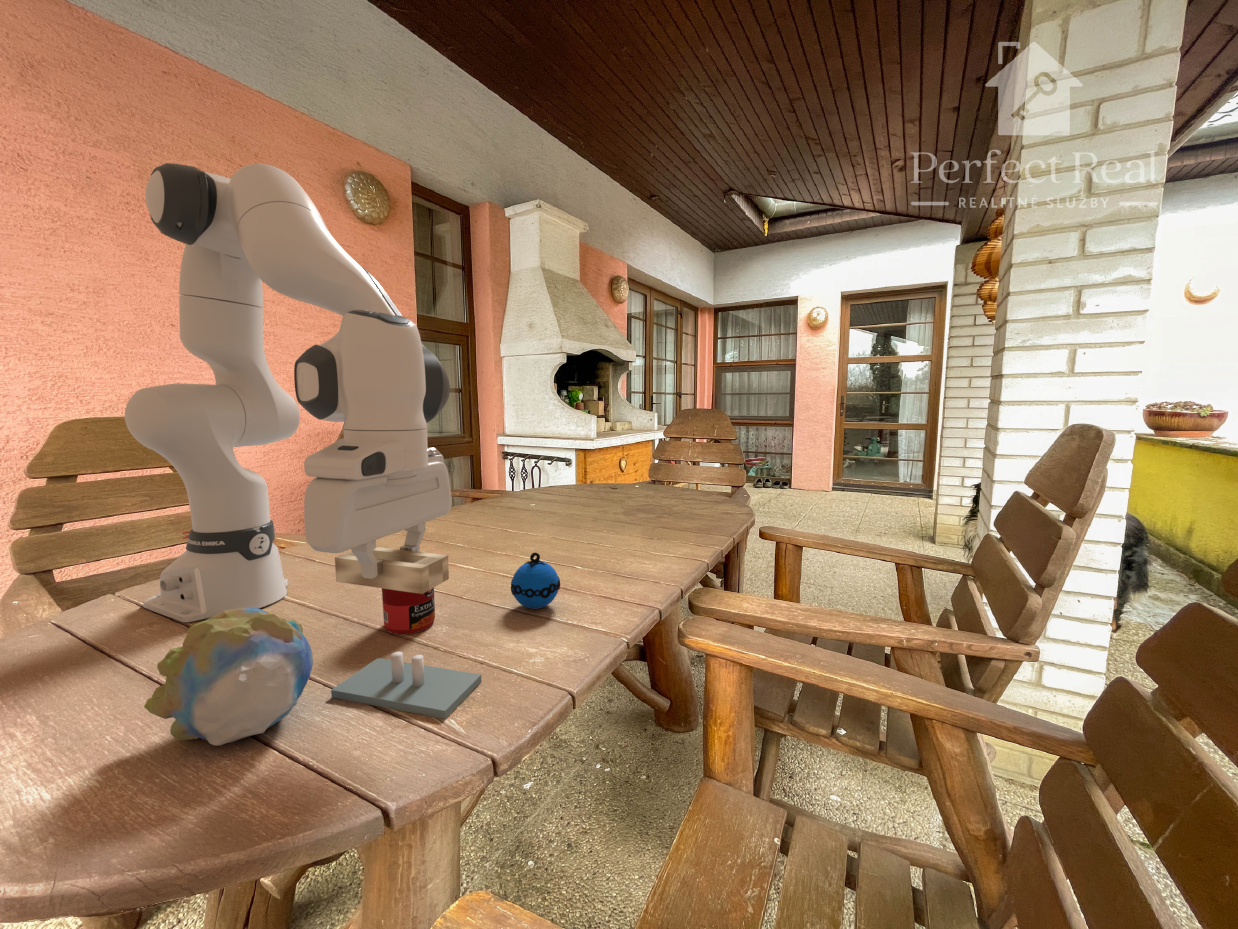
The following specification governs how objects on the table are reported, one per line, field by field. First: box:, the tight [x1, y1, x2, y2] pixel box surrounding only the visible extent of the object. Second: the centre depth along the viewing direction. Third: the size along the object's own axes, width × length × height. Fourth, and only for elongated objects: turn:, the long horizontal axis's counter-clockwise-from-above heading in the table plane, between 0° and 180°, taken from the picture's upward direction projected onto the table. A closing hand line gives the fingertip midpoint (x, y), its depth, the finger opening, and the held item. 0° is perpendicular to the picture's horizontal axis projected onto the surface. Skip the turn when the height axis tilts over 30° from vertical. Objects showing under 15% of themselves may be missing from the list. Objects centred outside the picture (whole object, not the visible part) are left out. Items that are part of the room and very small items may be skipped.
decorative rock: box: [143, 607, 314, 747], centre depth 56 cm, size 14×16×15 cm
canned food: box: [381, 587, 436, 635], centre depth 81 cm, size 8×8×11 cm
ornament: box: [510, 552, 561, 610], centre depth 88 cm, size 9×9×10 cm
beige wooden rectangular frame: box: [334, 546, 450, 594], centre depth 60 cm, size 12×5×3 cm, turn 74°
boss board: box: [330, 651, 483, 720], centre depth 63 cm, size 16×8×4 cm, turn 75°
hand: (392, 567), depth 60 cm, fingers closed on beige wooden rectangular frame, 5 cm apart
